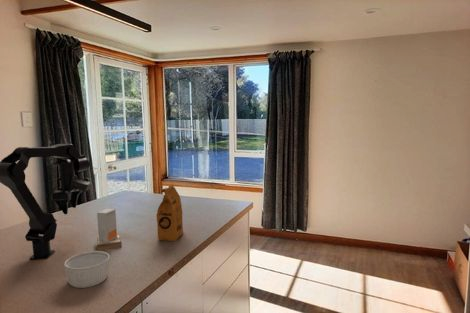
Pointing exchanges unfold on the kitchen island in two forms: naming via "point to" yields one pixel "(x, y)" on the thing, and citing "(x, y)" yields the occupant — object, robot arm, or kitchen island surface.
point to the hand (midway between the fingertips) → (70, 210)
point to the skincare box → (107, 225)
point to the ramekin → (87, 268)
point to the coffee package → (170, 215)
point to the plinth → (109, 244)
